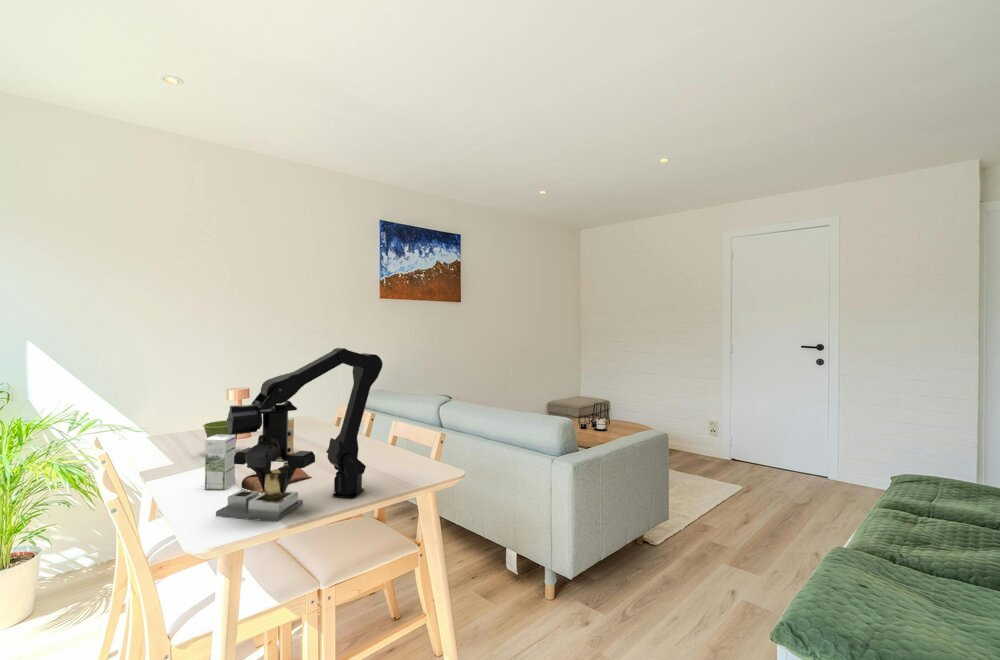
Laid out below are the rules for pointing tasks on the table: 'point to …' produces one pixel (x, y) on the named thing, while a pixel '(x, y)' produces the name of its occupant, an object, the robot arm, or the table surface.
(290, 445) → the supplement box
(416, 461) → the table surface
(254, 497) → the grey fixture block
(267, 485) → the brass fitting
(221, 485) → the syrup box
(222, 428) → the plant pot
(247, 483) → the sunglasses case
